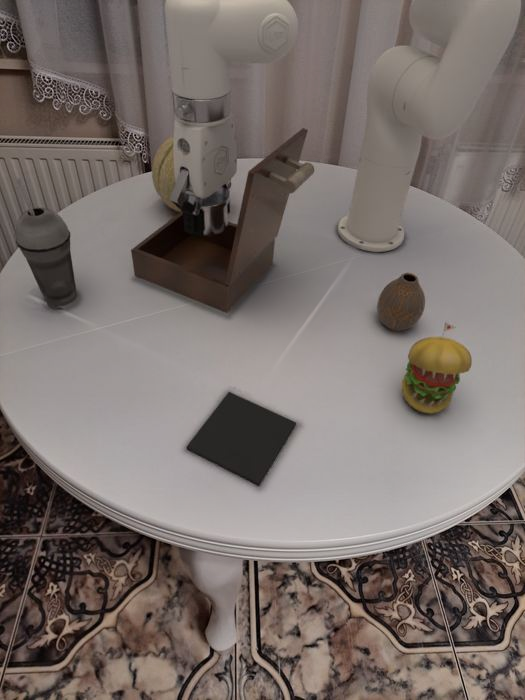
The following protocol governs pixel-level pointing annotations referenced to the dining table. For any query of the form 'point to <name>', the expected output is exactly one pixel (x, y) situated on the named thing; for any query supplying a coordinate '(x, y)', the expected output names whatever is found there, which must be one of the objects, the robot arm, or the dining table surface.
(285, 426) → the mat
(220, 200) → the bowl
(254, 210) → the lid
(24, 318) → the dining table surface
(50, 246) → the beverage cup
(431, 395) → the hamburger
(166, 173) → the cantaloupe
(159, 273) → the chest
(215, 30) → the robot arm
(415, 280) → the vase
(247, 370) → the dining table surface
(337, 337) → the dining table surface
